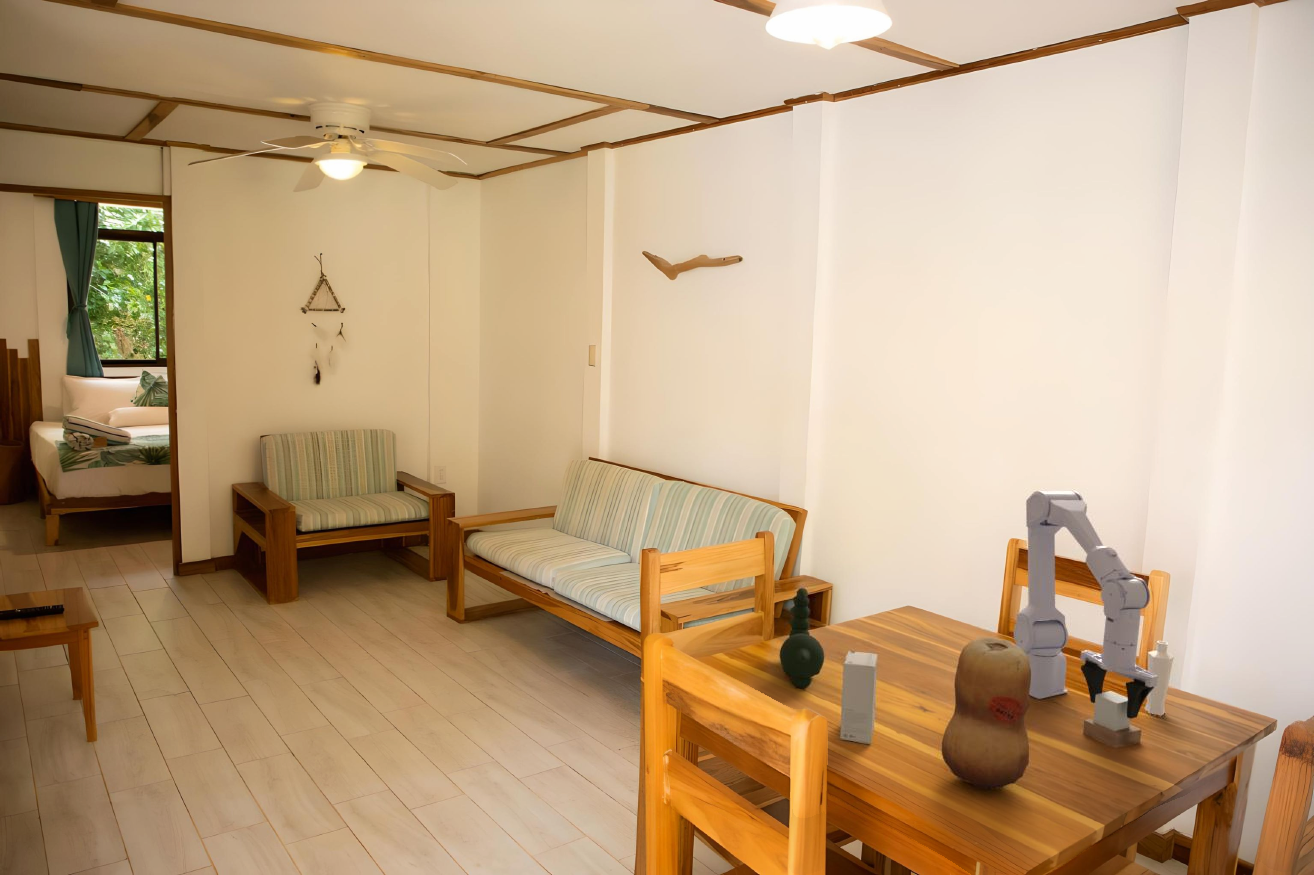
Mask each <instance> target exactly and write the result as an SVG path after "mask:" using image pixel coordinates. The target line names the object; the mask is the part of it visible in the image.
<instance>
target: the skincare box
mask: <svg viewBox="0 0 1314 875" xmlns="http://www.w3.org/2000/svg"><path fill="white" fill-rule="evenodd" d="M844 660H845V661H844V662H843V664H842V665H843V668H842V686H841V687H842V689H841V706H840V707H841V711H840V734H839V736H840V737H839V740H843V741H851V742H855V743H860V744H863V745H864V744H865V745H871V744H872V736H873V732H874V729H875V719H876V718H875V716H876V694H877V667H878V654H877V653H870V652H861V651H853V650H852V651H851V650H848V651H847V654H846V655H845V659H844Z"/></svg>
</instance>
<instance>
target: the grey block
mask: <svg viewBox="0 0 1314 875" xmlns="http://www.w3.org/2000/svg"><path fill="white" fill-rule="evenodd" d="M1127 704H1128V696H1124V695H1121V694H1119V693H1118V692H1117V693H1116V692H1114V691H1111V690H1109V691H1105V692H1102V693H1100V694H1096V698H1095V703H1094V709H1093V717H1092V718H1093V722H1094V723H1097V724H1099V725H1101V726H1104V727H1106V728H1108V729H1110V730H1113V731H1118V730H1121V729H1125V728H1128V727H1130V725H1131V719H1130V718H1127Z"/></svg>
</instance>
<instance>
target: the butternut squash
mask: <svg viewBox="0 0 1314 875" xmlns="http://www.w3.org/2000/svg"><path fill="white" fill-rule="evenodd" d="M1030 684H1031V668H1030V662H1029V658H1028V656H1027V655H1026V654H1025V652H1024V651H1023V650H1022V649H1021V648H1020V647H1018V645H1017V644H1016V643H1014V642H1012V641H1010V640H1007V639H1004V638H997V637H990V636H987V637H986V636H985V637H979V638H977V639H974V640H971V641H969V642H968V643H967V644H965V646H964V647H963V648H962V650H961V652H960V654H959V656H958V663H957V667H956V672H955V675H954V684H953V686H954V701H955V702H954V704H955V705H954V712H953V714H952V717H950V720H949V722H948V724H947V726H946V728H945V730H944V733H943V736H942V741H941V755H942V760H943V761H944V763H945V764H946V765H947V767H948V768H949V769H950V771H951V773H952V774H953V775H954V776H956V777H957V778H958V779H960V780H963V781H965V782H967V783H970V784H972V785H974V786H975V787H976V788H978V789H981V790H982V789H983V790H994V789H998V788H1003V787H1007V786H1009V785H1012V784H1015V783H1016V782H1017V781H1018V780H1020V779H1022V778H1023V776H1024V773H1025V771H1026V770H1027V766H1029V764H1030V744H1029V737H1028V732H1027V729H1026V726H1025V715H1026V714H1027V712H1028V711H1029V707H1030V695H1029V691H1030Z"/></svg>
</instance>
